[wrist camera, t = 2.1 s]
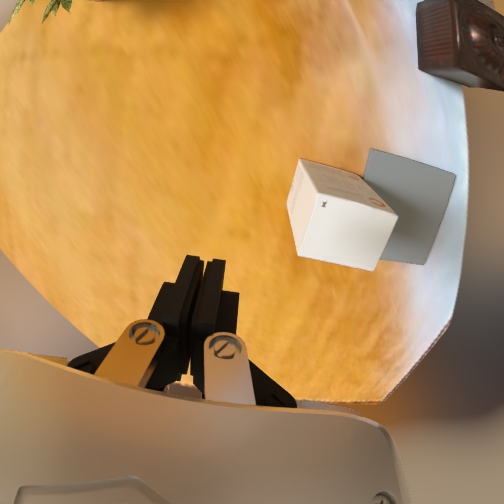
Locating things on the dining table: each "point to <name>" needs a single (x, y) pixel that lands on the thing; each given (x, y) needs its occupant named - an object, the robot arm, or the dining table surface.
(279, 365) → the dining table surface
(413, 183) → the mat
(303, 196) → the small box
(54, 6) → the house plant
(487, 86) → the manual coffee grinder
